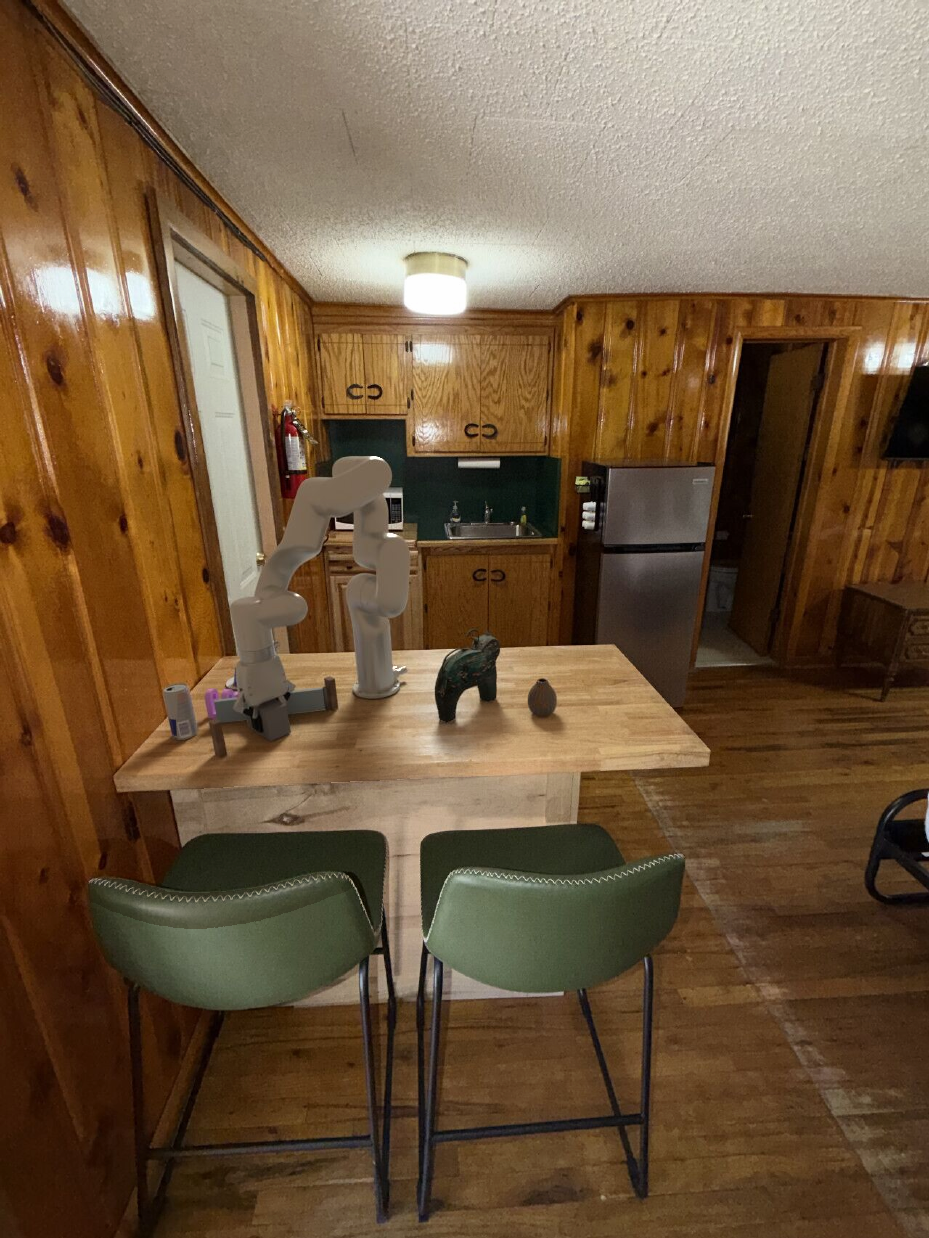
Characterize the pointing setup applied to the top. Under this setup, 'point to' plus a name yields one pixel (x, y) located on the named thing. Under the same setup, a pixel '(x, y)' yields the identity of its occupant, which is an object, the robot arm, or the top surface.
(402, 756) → the top surface
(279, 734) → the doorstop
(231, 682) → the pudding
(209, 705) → the bracket
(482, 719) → the top surface
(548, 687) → the vase
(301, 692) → the grey long flat board
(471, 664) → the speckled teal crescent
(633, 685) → the top surface
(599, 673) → the top surface
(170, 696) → the energy drink
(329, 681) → the frame
